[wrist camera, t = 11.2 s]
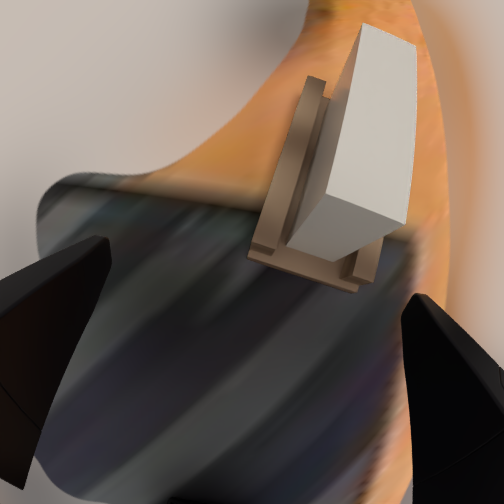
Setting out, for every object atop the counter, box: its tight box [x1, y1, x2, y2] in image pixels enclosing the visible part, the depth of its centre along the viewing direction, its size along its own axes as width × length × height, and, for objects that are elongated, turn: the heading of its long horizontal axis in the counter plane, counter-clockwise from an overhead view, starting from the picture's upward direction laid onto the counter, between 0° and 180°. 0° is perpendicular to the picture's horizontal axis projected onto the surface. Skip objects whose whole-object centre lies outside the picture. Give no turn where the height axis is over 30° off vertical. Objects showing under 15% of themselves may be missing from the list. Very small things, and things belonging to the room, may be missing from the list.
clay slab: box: [286, 23, 417, 262], centre depth 17 cm, size 12×4×10 cm, turn 162°
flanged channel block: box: [247, 76, 384, 293], centre depth 22 cm, size 15×8×4 cm, turn 162°
